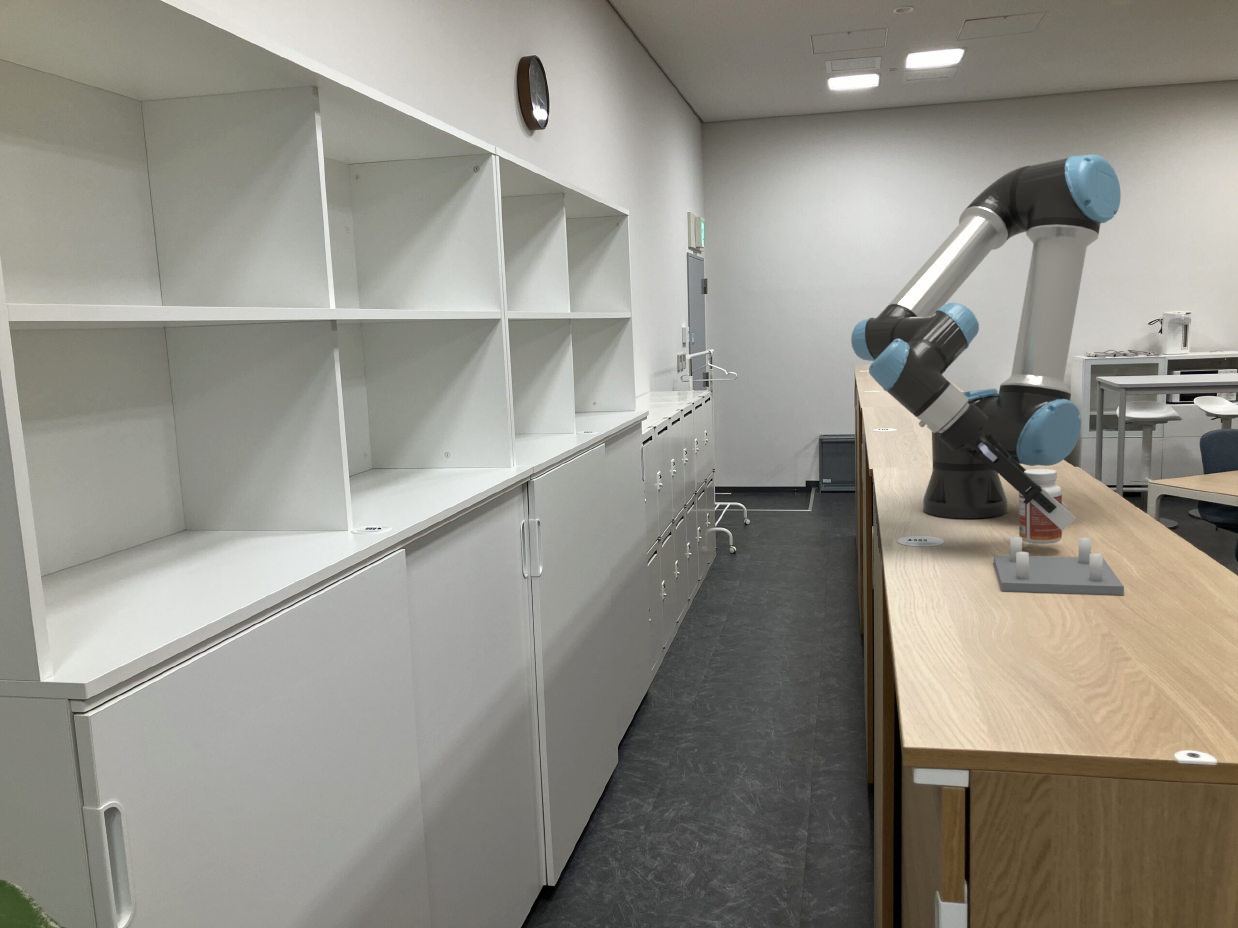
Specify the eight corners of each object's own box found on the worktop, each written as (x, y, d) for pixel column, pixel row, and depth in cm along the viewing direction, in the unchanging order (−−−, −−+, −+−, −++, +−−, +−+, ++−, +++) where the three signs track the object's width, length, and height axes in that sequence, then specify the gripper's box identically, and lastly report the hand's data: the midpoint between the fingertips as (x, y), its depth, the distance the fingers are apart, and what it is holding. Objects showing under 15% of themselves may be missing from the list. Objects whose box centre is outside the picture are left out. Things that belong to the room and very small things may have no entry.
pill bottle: (1070, 539, 146) (1070, 470, 145) (1047, 547, 143) (1047, 476, 141) (1033, 533, 152) (1033, 466, 150) (1010, 540, 148) (1010, 471, 147)
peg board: (993, 562, 142) (993, 532, 141) (1102, 565, 137) (1103, 534, 137) (1001, 591, 128) (1001, 557, 127) (1123, 595, 123) (1124, 560, 123)
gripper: (935, 427, 158) (1039, 521, 156) (937, 444, 140) (1055, 550, 138) (968, 395, 156) (1074, 490, 153) (974, 408, 138) (1095, 515, 135)
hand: (1065, 518), depth 146 cm, fingers closed on pill bottle, 6 cm apart
